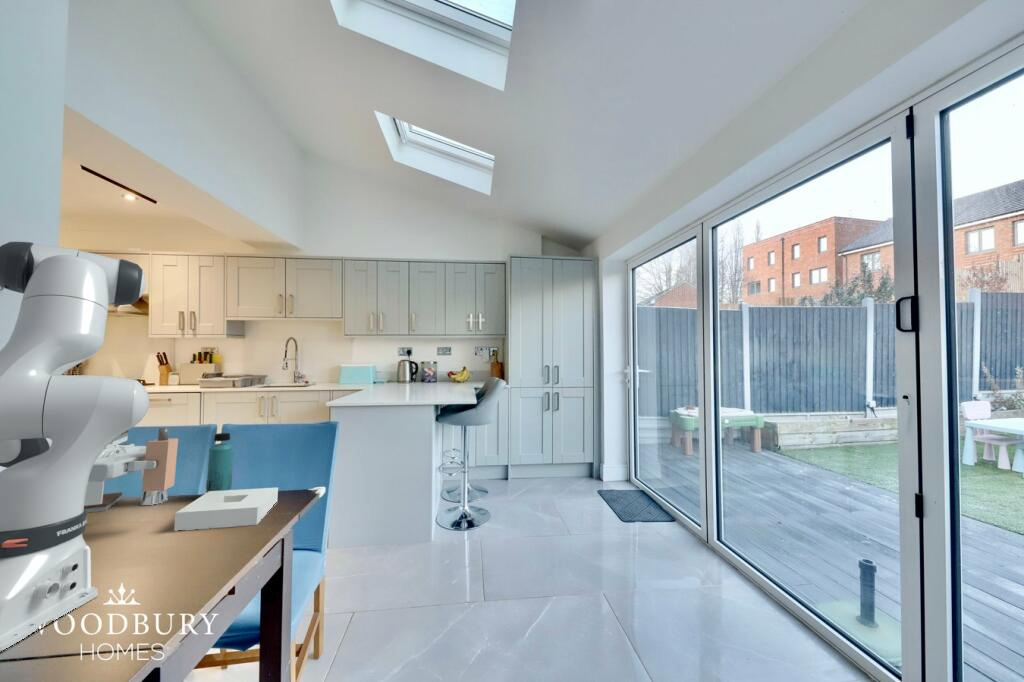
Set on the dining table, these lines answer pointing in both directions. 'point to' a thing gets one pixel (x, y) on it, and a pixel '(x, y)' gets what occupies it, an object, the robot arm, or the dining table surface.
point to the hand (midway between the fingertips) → (165, 461)
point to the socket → (226, 509)
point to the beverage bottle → (220, 465)
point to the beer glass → (153, 496)
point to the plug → (161, 462)
